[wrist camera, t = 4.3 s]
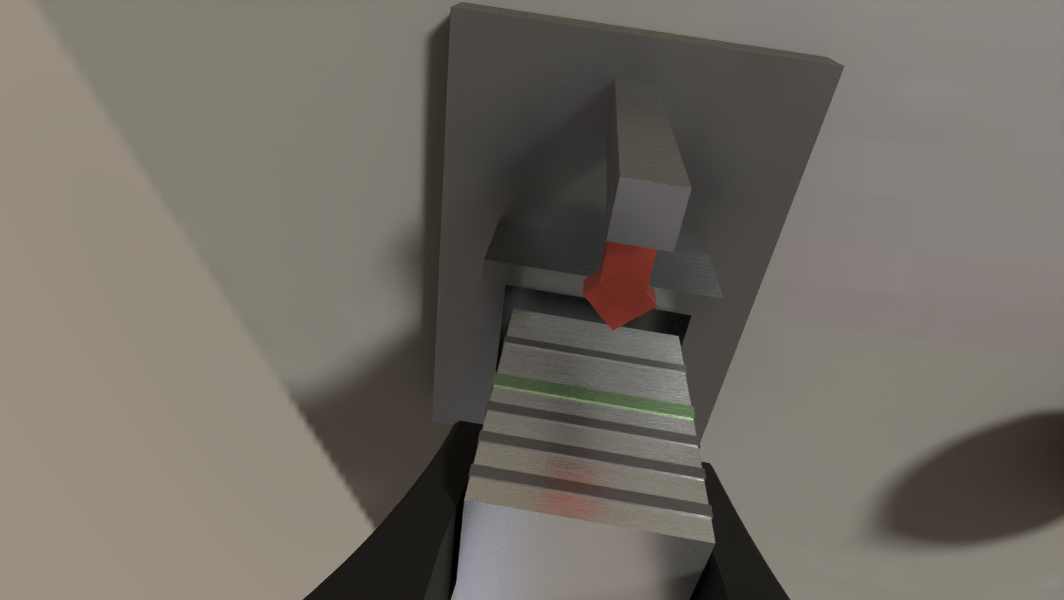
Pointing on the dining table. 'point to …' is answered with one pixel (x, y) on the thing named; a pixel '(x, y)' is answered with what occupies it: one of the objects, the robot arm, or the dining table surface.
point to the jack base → (611, 187)
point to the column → (585, 470)
